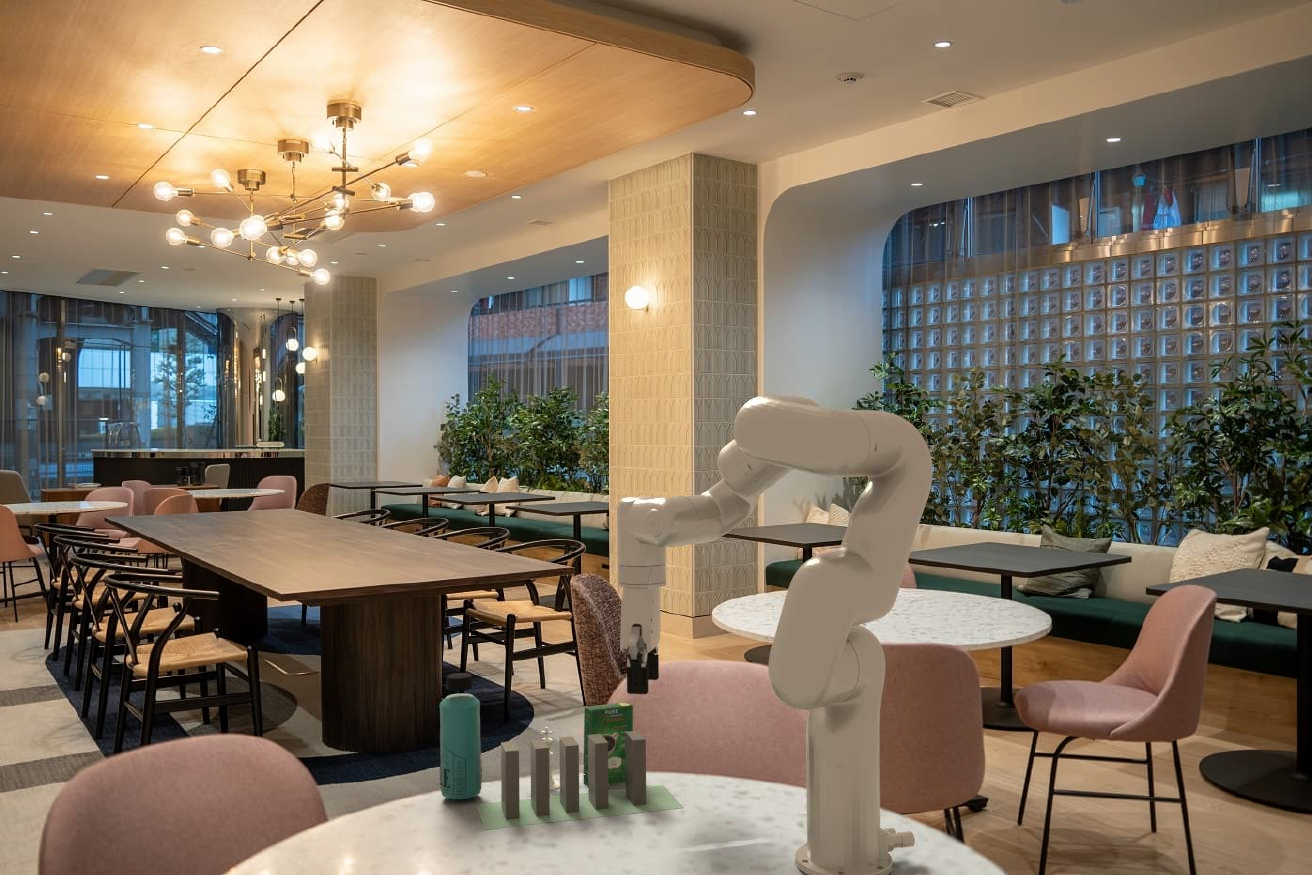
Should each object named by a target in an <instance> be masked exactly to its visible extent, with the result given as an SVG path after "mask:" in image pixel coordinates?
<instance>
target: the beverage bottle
mask: <svg viewBox="0 0 1312 875" xmlns="http://www.w3.org/2000/svg"><path fill="white" fill-rule="evenodd" d="M445 683H446V684H445V690H448V691H450V692H453V691H454V692H459V691H460V692H461V691H468V690H472V689H473V687H474V686H473V685H474V683H473V676H472V674H471V673H464V672H460V673H459V672H458V673H456V672H455V673H451V674H448V675H447V676H446V682H445ZM480 706H481V702H480V700H479V698H477V697H476V696H475V695H474V694H471V693H453V694H449V695H447V696H446V697H445V698H443V700H442V701H440V703H439V718H440V719H439V720H440V723H439V724H440V727H439V733H440V734H439V735H438V737H439V740H440V741H439V742H440V743H439V744H440V748H439V749H440V752H439V754H440V756H439V760H440V763H439V765H440V766H439V781H440V782H439V786H440V790H439V791H440V792H441V795H442V796H443V797H444V798H446V799H450V800H451V799H452V800H464V799H470V798H473V797H476V796H478V795H479V794H480V793H481V790H482V786H483V783H482V780H483V769H482V768H483V767H482V766H483V765H482V762H483V761H482V747H481V745H482V743H481V722H480V721H481V717H480V716H481V715H480V712H481V711H480V708H481V707H480Z"/></svg>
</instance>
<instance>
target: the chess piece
mask: <svg viewBox="0 0 1312 875" xmlns="http://www.w3.org/2000/svg"><path fill="white" fill-rule="evenodd" d="M540 732H541V735H544V737H543V738H542V739H544V741H545V742H546V744H547V745H548V747H549V790H550V791H555V790H558V789H559V790H560V780H559V781H558V780H555V778H554V776H553V773H552V765H551V759H550V758H551V757H554V753H553V751H551V748H552V745H553V743H554V739H553V738H550V737H549V736H551V735H553V731H552V730H550V731H549V727H547V726H545V727H544V730H541V731H540Z"/></svg>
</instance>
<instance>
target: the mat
mask: <svg viewBox="0 0 1312 875" xmlns="http://www.w3.org/2000/svg"><path fill="white" fill-rule="evenodd" d="M475 806H476V809H477V812H478V814H479V818H480V821H481V823H482V827H483V830H484V831H486V830H487V831H488V830H496V829H506V828H514V827H515V828H516V827H525V826H533V825H543V824H551V823H560V822H561V823H562V822H568V821H578V820H587V819H596V818H605V817H615V816H624V815H625V816H626V815H633V814H642V813H650V812H660V811H670V810H677V809H684V806H683V805H682V804H681V803H680V801H678V799H677V798H676V797H675V796H674V795H673V794H672V793H671V792H670V791H669V790H668V788H666V786H665V785H663V784H662V785H652V786H651V785H650V786H646V805H639V806H633V804H632V803H631V802H630V800H629V799H628V798H627V796H626V788H621V789H615V790H608V806H609V809H601V810H595V808H594V807H593V805H592V804H591V802H590V801H589V795H588V792H585V793H584V792H582V793H579V812H574V813H566V812H565V810H564V809H563V807H562V805H561V803H560V795H555V796H550V815H546V816H537V817H536V815H535V813H534V811H533V809H532V806H531V798H525V799H519V808H520V818H518V819H509V820H506V818H505V816H504V813H503V811H502V804H501V801H497V802H487V803H479V804H477V803H476V805H475Z"/></svg>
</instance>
